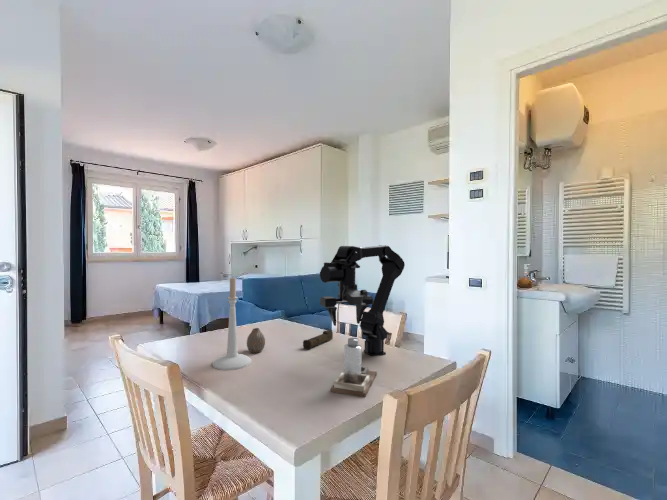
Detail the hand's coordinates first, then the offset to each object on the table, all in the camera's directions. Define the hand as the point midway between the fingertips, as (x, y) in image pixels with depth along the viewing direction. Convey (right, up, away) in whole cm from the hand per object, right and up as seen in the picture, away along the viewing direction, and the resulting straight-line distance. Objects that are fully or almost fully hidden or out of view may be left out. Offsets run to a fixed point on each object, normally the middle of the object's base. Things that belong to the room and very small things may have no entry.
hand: (346, 324), depth 122 cm
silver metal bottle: (+1, -12, -22) cm, 25 cm away
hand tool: (-11, -13, +21) cm, 27 cm away
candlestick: (-40, -13, -4) cm, 42 cm away
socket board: (+2, -13, -19) cm, 23 cm away
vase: (-35, -13, +9) cm, 38 cm away
